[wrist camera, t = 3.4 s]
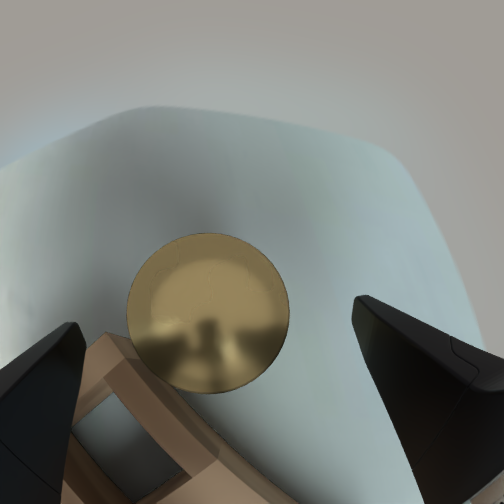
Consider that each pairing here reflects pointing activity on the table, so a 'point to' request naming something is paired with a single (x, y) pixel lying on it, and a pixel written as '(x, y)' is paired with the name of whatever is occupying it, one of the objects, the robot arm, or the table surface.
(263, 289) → the disc
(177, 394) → the jig
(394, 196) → the table surface
